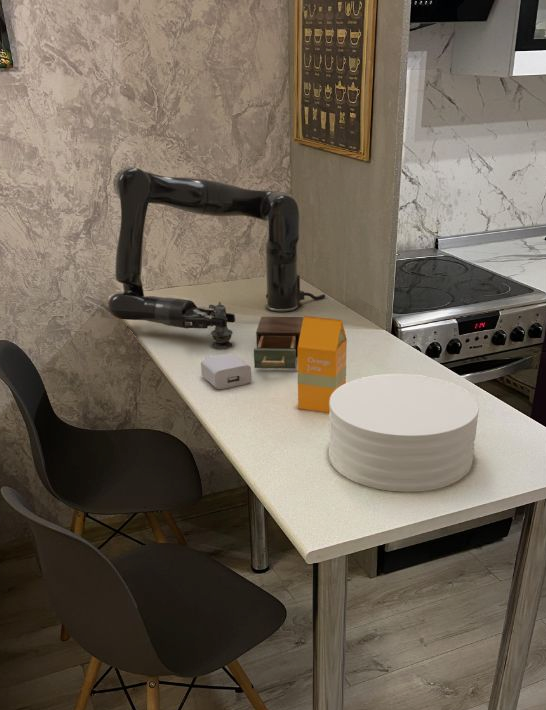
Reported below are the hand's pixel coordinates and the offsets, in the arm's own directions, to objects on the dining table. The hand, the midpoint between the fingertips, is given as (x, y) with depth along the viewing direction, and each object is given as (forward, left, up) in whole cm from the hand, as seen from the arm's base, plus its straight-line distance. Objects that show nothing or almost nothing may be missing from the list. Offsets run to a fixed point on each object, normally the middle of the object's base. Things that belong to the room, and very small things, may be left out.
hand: (230, 320), depth 198 cm
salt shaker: (+1, -3, -7) cm, 8 cm away
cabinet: (-9, +9, -7) cm, 15 cm away
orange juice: (+7, +43, -7) cm, 45 cm away
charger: (+14, +15, -7) cm, 22 cm away
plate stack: (+12, +71, -7) cm, 73 cm away
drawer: (0, +19, -6) cm, 20 cm away
